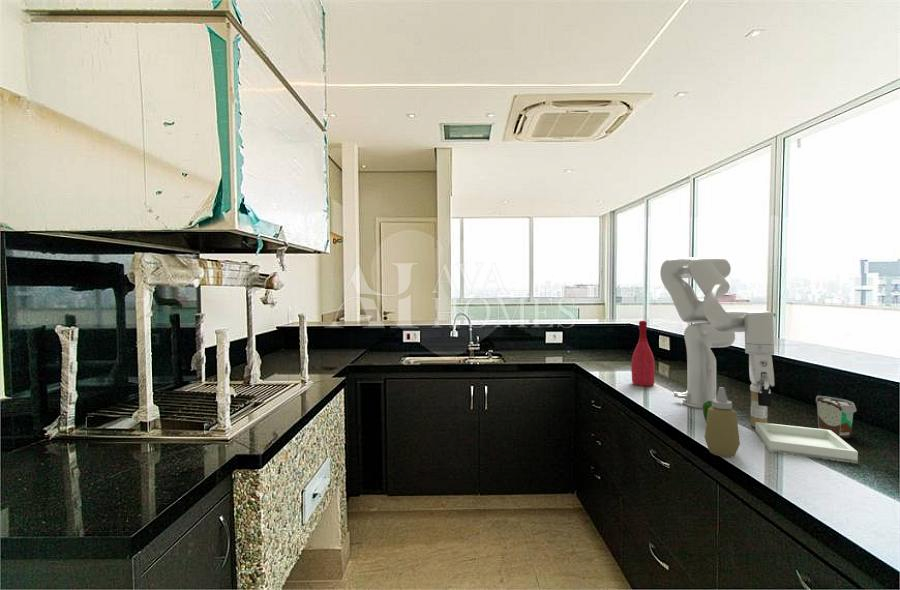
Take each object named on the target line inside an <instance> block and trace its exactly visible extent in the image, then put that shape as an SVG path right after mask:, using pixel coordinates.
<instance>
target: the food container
mask: <svg viewBox="0 0 900 590" xmlns="http://www.w3.org/2000/svg"><path fill="white" fill-rule="evenodd" d="M815 403H816V409H817V410H816V411H817V424H818V429H826V430H831V431H832V432H834V433H835V434H836V435H837V436H839V437H840V438H841V439H843V438H844V439H847V438H848V439H849V438H851V435H852V429H853V428H852V427H853V419H854V413H856V412H857V410H858V409H857V407H856V405H855V403H854V402H853V401H850V400H848V399H843V398H838V397H832V396H826V395H816V397H815Z"/></svg>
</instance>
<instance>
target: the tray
mask: <svg viewBox="0 0 900 590" xmlns="http://www.w3.org/2000/svg"><path fill="white" fill-rule="evenodd" d="M754 428H755V433H756V434H757V436H758V435H759V436H758V437H759V438H760V440H761V441H762V443H763V442H764V443H765V444H764V443H763V444H764V445H765V447H766V446H767V447H766V448H767V449H769V450H768V451H769V452H770V453H775V452H778V453H777V454H783V453H786V454H785V455H790V454H793V455H792V456H798V455H799V456H798V457H805V456H806V457H807V458H814V459H820V458H822V460H828V459H830V460H829V461H835V460H836V461H837V462H845V463H850V462H851V464H858V463H859V457H858V456H859V453H858V451H857V450H856V449H855V448H854V447H852V446H851V445H850V444H849V443H848V442H846V441H845V440H844V439H843V438H840V437H839V436H837V435H836V434H835V433H834V432H832V431H831V430H826V429H820V428H815V427H806V426H797V425H786V424H779V423H778V424H777V423H769V422H767V423H761V422H755V427H754Z"/></svg>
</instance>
